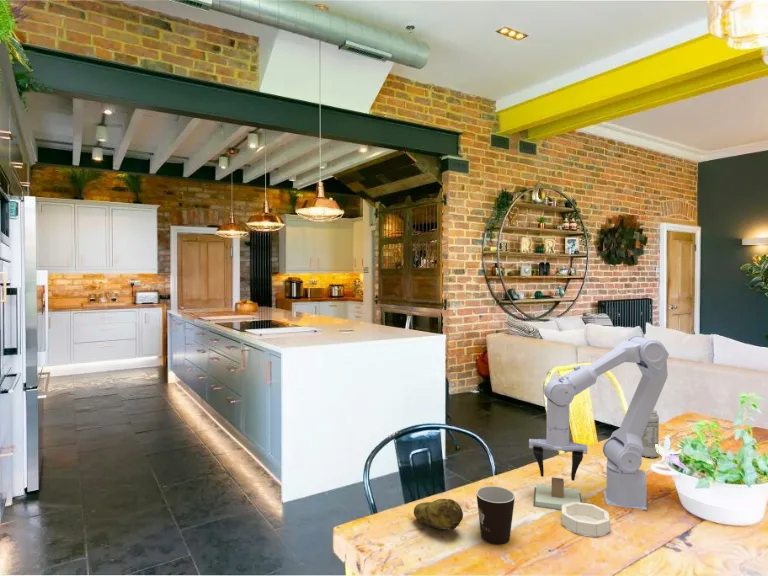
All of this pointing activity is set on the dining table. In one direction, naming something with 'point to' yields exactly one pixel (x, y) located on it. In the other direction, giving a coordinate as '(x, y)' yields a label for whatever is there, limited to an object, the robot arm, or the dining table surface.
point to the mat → (547, 507)
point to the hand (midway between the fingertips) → (557, 477)
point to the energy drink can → (651, 436)
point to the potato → (439, 513)
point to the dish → (585, 519)
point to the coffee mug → (495, 513)
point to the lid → (555, 494)
